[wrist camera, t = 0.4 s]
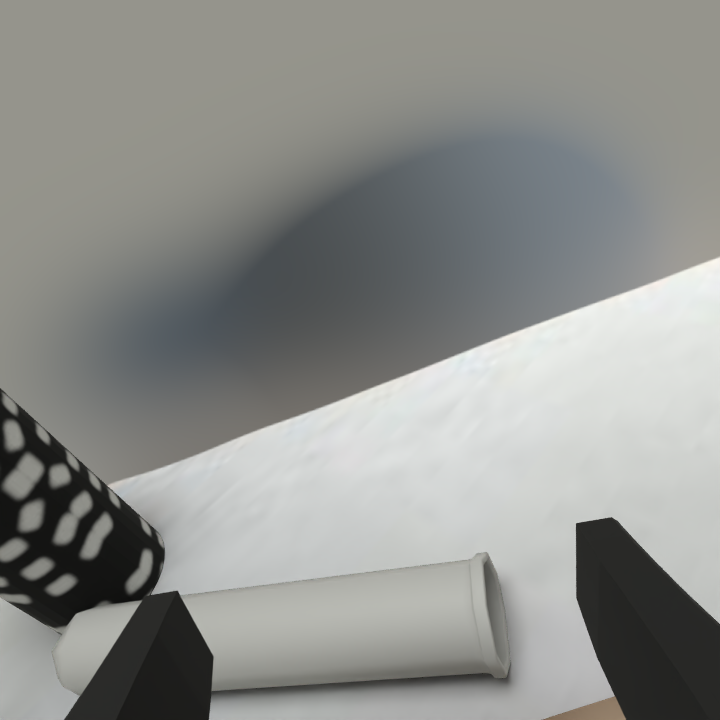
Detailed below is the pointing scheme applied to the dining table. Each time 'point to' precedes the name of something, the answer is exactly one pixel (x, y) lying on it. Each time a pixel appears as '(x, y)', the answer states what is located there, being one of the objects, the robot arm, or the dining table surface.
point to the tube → (326, 629)
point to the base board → (594, 712)
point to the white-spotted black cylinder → (65, 529)
